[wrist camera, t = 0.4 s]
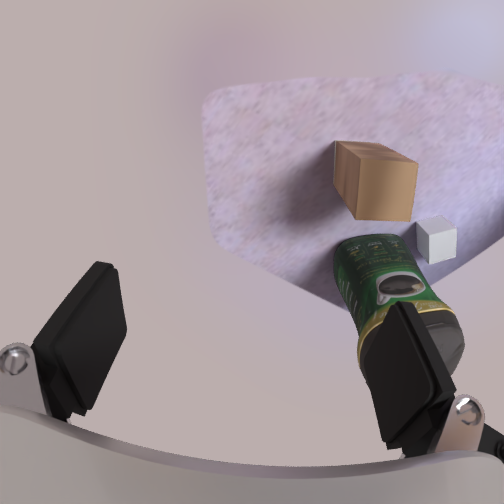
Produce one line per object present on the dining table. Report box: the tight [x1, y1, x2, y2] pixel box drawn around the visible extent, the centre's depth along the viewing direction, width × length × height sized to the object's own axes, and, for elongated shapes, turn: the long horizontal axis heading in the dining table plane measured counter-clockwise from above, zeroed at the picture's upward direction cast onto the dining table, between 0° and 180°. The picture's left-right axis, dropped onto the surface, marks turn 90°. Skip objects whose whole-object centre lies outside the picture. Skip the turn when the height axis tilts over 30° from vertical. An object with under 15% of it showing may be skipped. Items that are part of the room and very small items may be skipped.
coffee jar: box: [334, 234, 465, 389], centre depth 28 cm, size 10×8×19 cm
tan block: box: [333, 140, 418, 222], centre depth 26 cm, size 5×5×10 cm
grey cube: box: [416, 215, 457, 265], centre depth 32 cm, size 4×4×4 cm
